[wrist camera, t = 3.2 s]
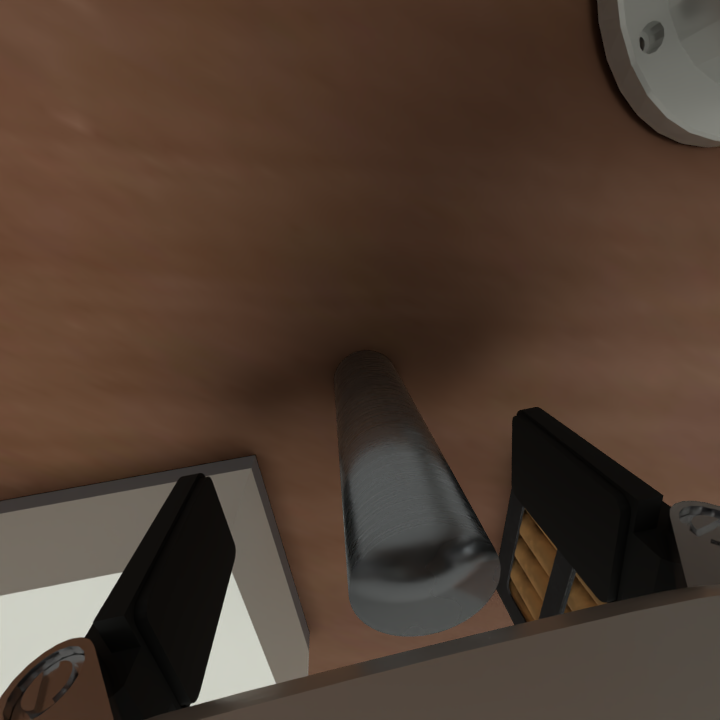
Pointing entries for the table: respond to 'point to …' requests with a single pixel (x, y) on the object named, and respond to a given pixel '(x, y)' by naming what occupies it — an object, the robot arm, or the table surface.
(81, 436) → the table surface
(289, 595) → the socket block
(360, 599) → the pin
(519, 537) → the ammunition clip
